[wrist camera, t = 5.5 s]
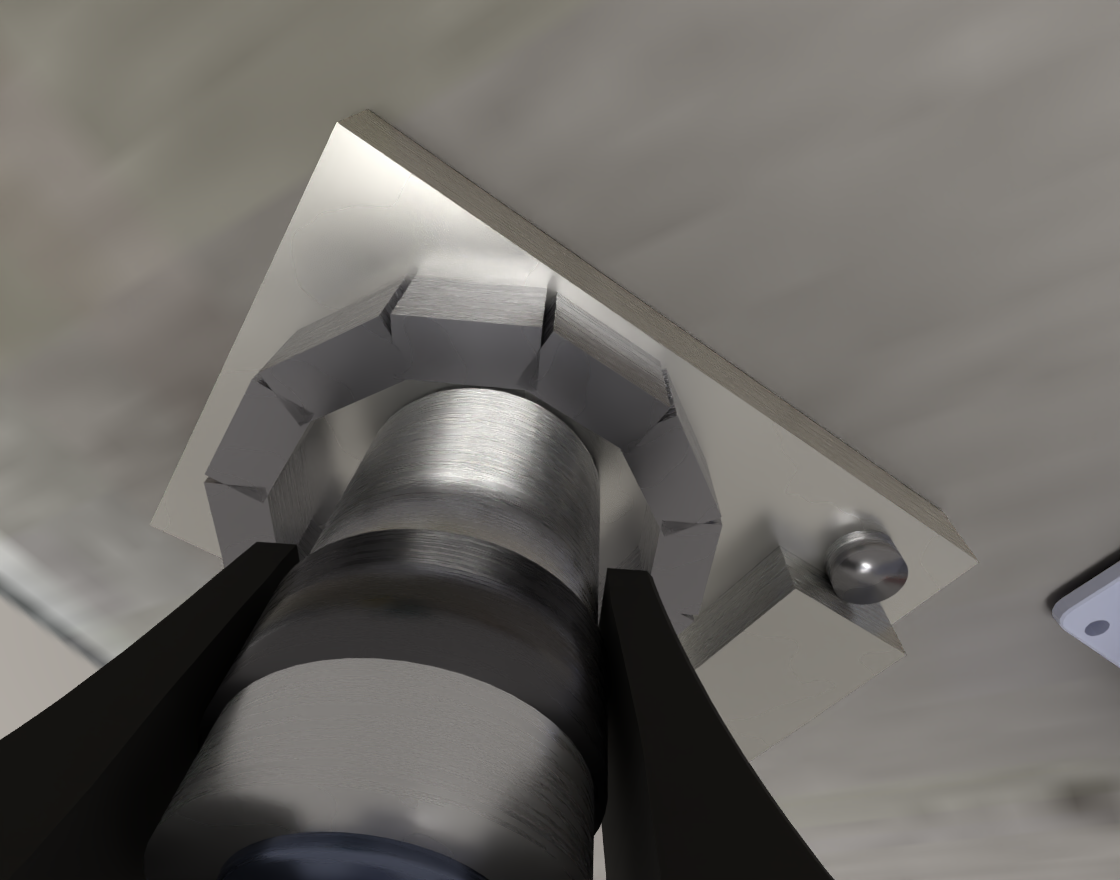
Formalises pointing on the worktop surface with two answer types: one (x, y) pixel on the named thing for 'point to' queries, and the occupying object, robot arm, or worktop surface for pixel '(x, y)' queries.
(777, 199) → the worktop surface
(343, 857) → the lens
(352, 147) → the octagonal collar plate
